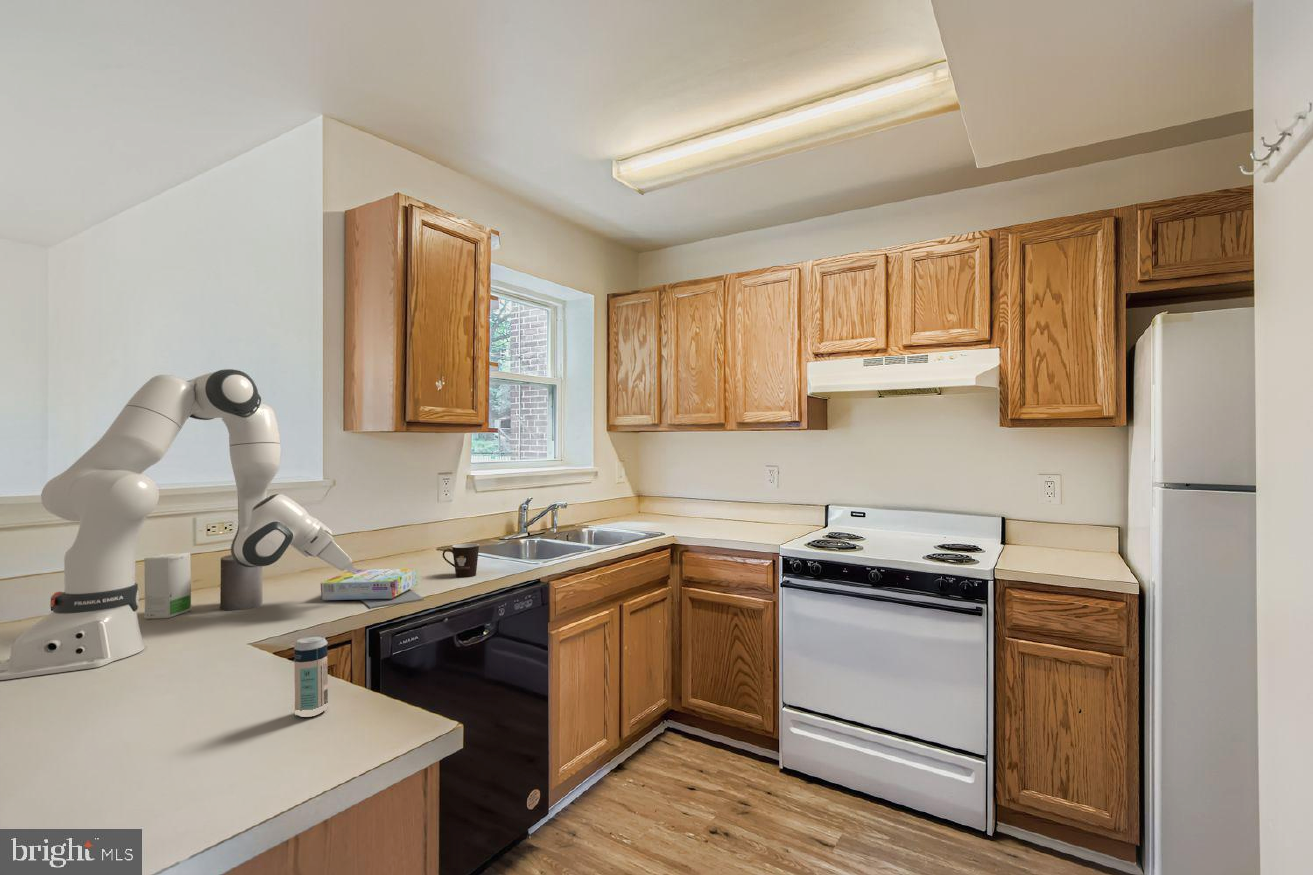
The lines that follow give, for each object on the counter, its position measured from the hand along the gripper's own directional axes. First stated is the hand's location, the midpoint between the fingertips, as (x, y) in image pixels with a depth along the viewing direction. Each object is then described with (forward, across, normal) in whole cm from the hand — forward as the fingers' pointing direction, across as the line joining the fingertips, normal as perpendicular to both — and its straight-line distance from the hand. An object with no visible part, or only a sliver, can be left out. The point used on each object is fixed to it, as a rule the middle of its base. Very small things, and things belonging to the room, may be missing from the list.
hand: (354, 571), depth 169 cm
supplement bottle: (-8, +72, -20) cm, 76 cm away
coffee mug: (+32, -17, +19) cm, 41 cm away
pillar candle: (-11, -18, -24) cm, 32 cm away
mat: (+13, 0, 0) cm, 13 cm away
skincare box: (-23, -20, -35) cm, 46 cm away
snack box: (+4, -1, -4) cm, 6 cm away
